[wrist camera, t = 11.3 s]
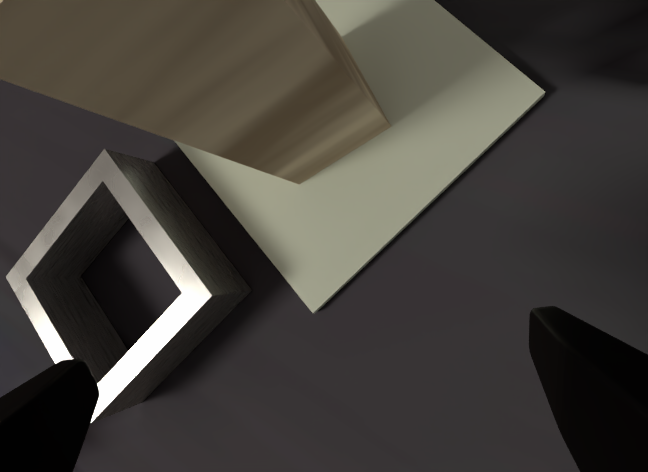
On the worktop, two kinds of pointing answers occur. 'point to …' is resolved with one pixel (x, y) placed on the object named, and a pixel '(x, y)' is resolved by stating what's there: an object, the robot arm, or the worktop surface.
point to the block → (201, 74)
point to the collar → (82, 308)
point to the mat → (380, 144)
